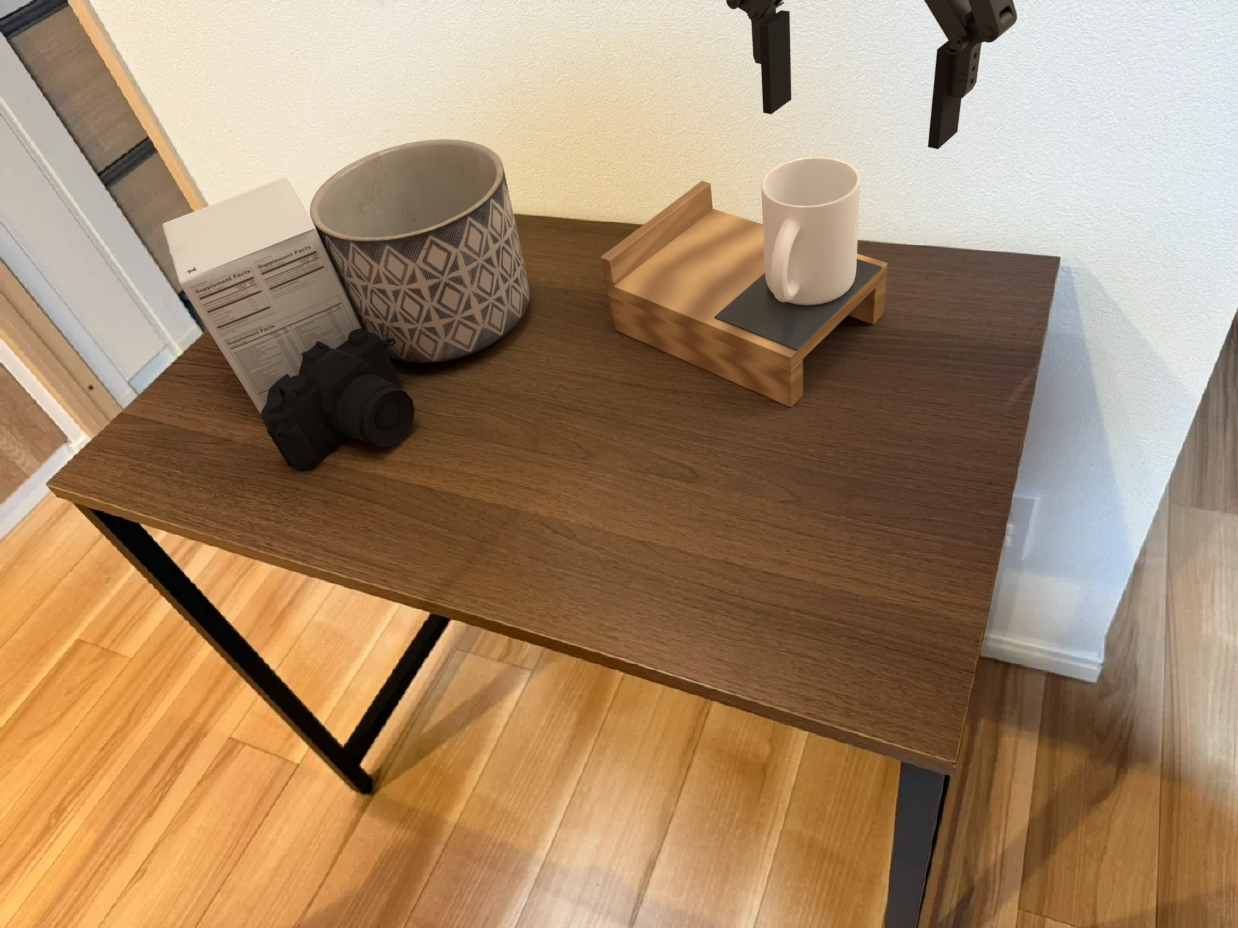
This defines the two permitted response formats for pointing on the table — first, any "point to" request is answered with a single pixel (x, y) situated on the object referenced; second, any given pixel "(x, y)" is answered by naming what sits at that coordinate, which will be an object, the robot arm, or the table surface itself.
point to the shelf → (724, 297)
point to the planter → (426, 247)
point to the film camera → (338, 401)
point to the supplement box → (260, 283)
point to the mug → (810, 229)
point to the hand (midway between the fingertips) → (855, 122)
